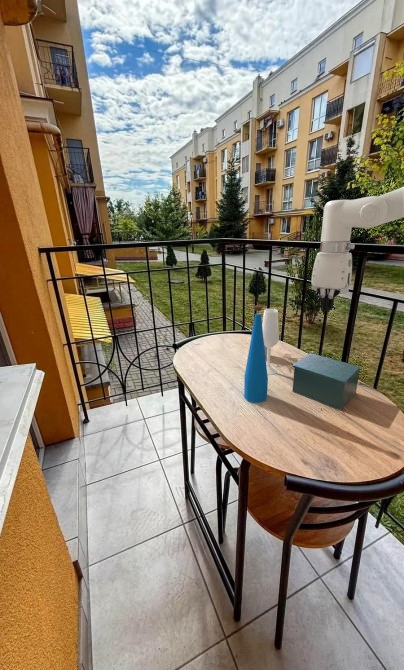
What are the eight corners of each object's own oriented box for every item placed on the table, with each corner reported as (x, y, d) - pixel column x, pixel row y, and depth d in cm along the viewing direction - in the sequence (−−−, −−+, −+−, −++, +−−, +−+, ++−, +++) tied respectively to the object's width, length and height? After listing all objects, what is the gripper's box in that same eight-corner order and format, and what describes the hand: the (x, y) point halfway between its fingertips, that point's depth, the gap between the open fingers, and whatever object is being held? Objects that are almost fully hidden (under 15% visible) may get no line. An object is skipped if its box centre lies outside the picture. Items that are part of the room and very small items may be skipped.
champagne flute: (277, 375, 104) (281, 313, 96) (259, 374, 105) (261, 312, 97) (276, 367, 110) (280, 308, 102) (259, 366, 112) (261, 307, 103)
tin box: (292, 391, 93) (294, 368, 90) (309, 377, 102) (312, 355, 98) (340, 410, 83) (344, 384, 80) (355, 393, 91) (360, 369, 88)
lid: (291, 367, 91) (292, 365, 91) (310, 355, 99) (310, 352, 99) (344, 384, 80) (345, 382, 79) (360, 369, 88) (360, 366, 88)
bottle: (241, 400, 90) (242, 308, 79) (247, 388, 96) (250, 302, 85) (263, 405, 87) (268, 310, 76) (269, 393, 93) (274, 304, 82)
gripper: (367, 247, 77) (357, 311, 83) (314, 247, 87) (309, 304, 94) (357, 249, 72) (347, 317, 79) (303, 248, 82) (298, 309, 89)
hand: (326, 310), depth 86 cm, fingers closed
